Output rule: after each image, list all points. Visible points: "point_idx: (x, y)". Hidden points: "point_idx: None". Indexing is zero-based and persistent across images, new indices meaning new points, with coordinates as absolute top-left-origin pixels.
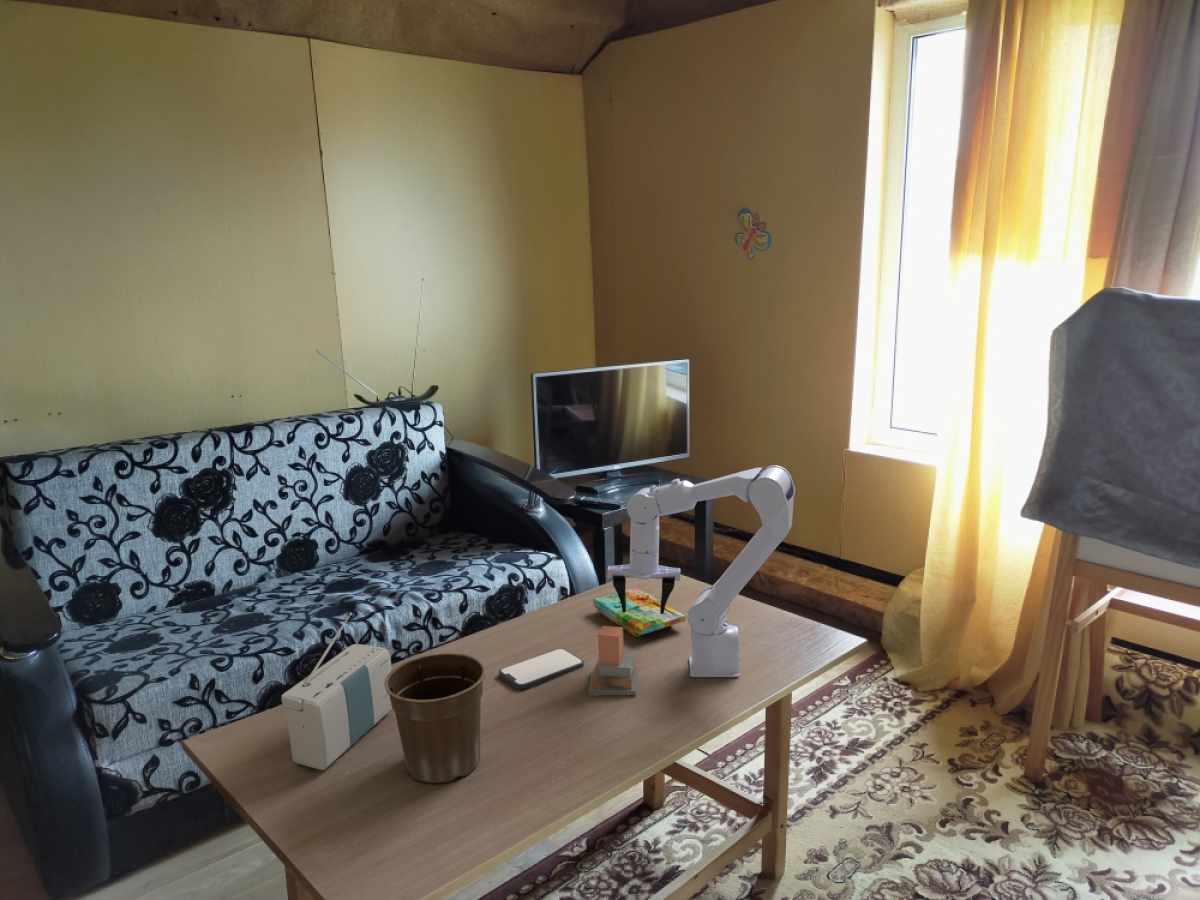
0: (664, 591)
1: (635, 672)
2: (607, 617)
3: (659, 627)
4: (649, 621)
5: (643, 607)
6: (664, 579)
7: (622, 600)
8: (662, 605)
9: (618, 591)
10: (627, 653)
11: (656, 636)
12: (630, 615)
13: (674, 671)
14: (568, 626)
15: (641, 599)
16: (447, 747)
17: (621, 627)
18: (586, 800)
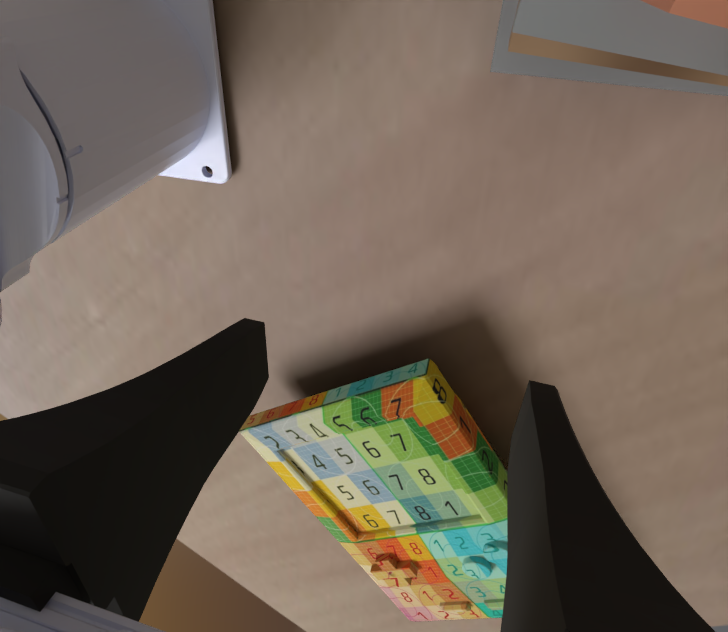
0: (90, 430)
1: (513, 1)
2: None
3: (344, 389)
4: (380, 422)
5: (398, 519)
6: (28, 578)
7: (567, 464)
8: (210, 351)
9: (638, 567)
10: (569, 30)
11: (369, 375)
12: (458, 482)
13: (296, 59)
14: (715, 514)
15: (400, 560)
16: None
17: (693, 3)
18: None
